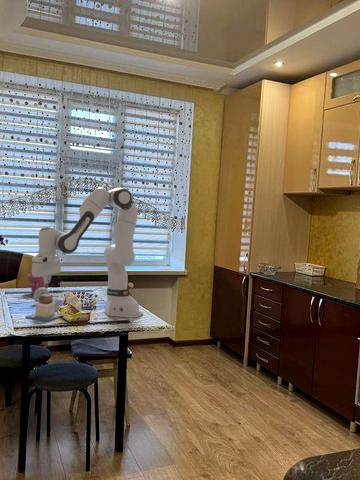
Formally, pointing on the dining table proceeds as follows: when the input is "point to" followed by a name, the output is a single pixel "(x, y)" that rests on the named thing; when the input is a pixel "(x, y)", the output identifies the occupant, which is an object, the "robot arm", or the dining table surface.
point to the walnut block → (45, 298)
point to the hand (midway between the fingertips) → (46, 282)
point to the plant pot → (37, 283)
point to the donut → (39, 291)
